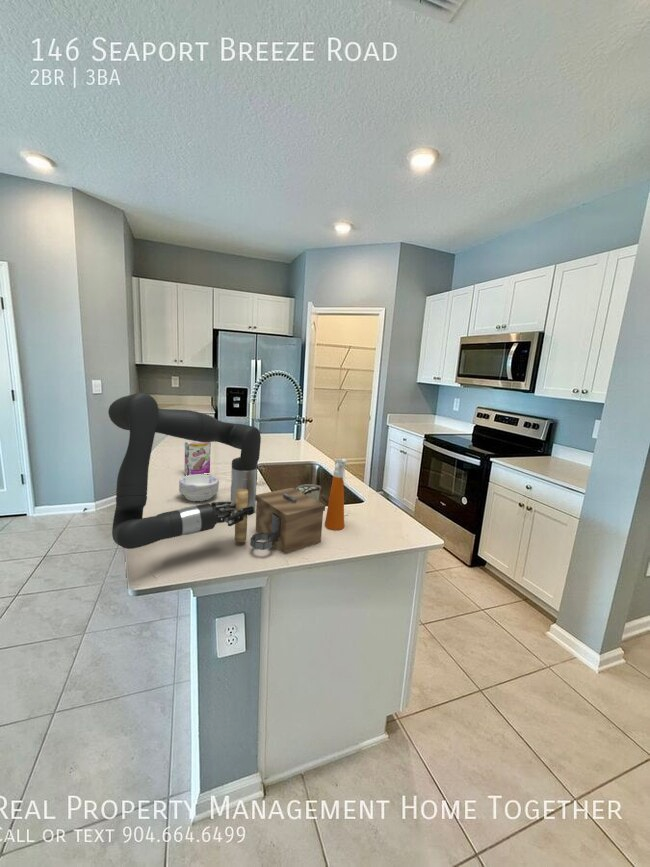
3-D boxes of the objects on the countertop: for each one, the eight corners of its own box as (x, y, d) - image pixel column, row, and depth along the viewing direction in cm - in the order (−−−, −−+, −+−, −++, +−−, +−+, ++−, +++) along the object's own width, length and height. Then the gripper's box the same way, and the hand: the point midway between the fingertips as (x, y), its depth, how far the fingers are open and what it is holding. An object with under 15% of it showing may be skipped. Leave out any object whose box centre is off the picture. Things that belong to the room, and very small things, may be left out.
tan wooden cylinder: (232, 538, 111) (234, 489, 108) (243, 535, 113) (244, 488, 111) (237, 543, 108) (239, 493, 106) (248, 540, 111) (250, 491, 108)
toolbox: (253, 530, 120) (255, 491, 118) (290, 520, 130) (292, 484, 127) (284, 555, 106) (286, 511, 104) (322, 542, 116) (325, 501, 113)
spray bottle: (330, 536, 120) (336, 461, 115) (322, 522, 130) (327, 453, 126) (350, 534, 122) (356, 461, 117) (340, 521, 132) (346, 453, 128)
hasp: (247, 542, 107) (247, 517, 106) (271, 535, 112) (272, 511, 111) (257, 551, 102) (258, 526, 101) (282, 544, 108) (283, 519, 106)
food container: (308, 504, 146) (309, 481, 144) (319, 509, 142) (321, 485, 140) (287, 513, 136) (288, 488, 134) (298, 518, 133) (300, 492, 131)
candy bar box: (187, 477, 168) (187, 444, 165) (184, 474, 172) (184, 441, 169) (210, 474, 175) (211, 442, 172) (206, 471, 179) (207, 440, 176)
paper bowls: (226, 496, 149) (226, 478, 147) (198, 507, 135) (198, 488, 134) (200, 488, 155) (200, 471, 154) (170, 498, 142) (170, 479, 141)
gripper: (204, 515, 94) (261, 503, 105) (186, 498, 105) (240, 489, 116) (204, 541, 95) (260, 527, 106) (186, 522, 106) (239, 510, 117)
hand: (249, 507), depth 111 cm, fingers closed on tan wooden cylinder, 3 cm apart
